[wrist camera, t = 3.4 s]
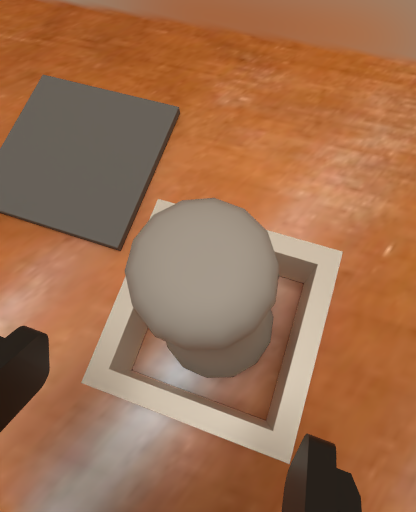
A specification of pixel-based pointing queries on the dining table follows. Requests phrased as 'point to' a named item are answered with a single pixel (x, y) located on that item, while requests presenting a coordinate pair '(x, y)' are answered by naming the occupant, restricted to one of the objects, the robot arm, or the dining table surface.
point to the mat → (82, 159)
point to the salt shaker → (205, 284)
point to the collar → (210, 412)
